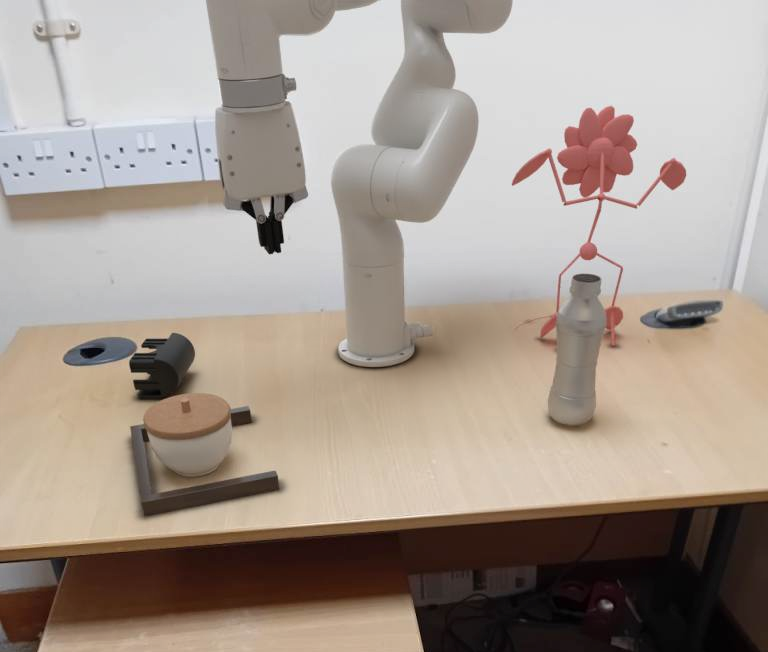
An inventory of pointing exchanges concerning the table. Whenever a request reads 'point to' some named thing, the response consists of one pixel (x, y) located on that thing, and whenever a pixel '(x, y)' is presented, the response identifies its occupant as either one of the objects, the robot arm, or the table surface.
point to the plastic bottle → (577, 352)
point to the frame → (201, 492)
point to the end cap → (162, 366)
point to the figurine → (598, 179)
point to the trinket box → (190, 432)
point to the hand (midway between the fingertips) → (272, 250)
